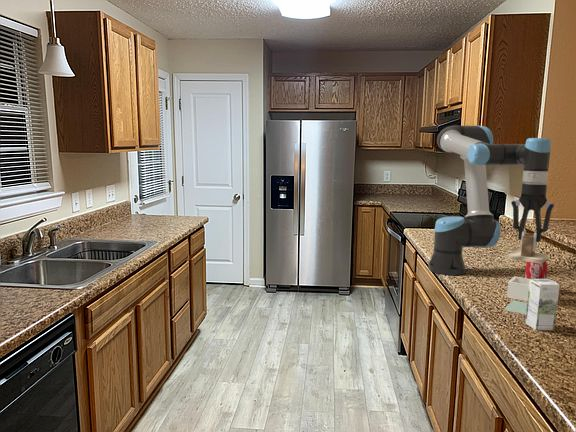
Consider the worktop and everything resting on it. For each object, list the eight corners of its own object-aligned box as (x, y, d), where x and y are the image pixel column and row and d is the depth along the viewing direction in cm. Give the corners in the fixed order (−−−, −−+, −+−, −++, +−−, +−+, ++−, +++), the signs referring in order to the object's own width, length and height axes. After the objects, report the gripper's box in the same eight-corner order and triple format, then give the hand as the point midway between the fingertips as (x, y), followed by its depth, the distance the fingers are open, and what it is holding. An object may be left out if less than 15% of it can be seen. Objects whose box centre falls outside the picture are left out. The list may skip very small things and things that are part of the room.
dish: (506, 297, 160) (508, 281, 159) (513, 291, 166) (514, 276, 166) (534, 303, 154) (536, 287, 153) (540, 297, 161) (541, 281, 160)
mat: (503, 310, 147) (503, 309, 147) (512, 301, 156) (512, 300, 156) (544, 319, 139) (544, 318, 139) (551, 309, 149) (551, 308, 148)
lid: (506, 258, 157) (508, 235, 156) (514, 252, 165) (516, 231, 164) (541, 263, 150) (544, 239, 149) (548, 257, 158) (550, 235, 157)
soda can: (522, 290, 169) (525, 259, 167) (525, 285, 174) (528, 255, 173) (543, 293, 165) (546, 262, 163) (546, 289, 170) (549, 258, 168)
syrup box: (542, 323, 136) (547, 277, 134) (555, 331, 130) (560, 283, 128) (524, 323, 136) (529, 277, 134) (535, 331, 130) (540, 283, 128)
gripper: (506, 182, 156) (500, 248, 159) (559, 185, 146) (552, 255, 149) (511, 181, 162) (506, 245, 165) (563, 184, 152) (556, 251, 155)
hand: (528, 249), depth 157 cm, fingers closed on lid, 3 cm apart
